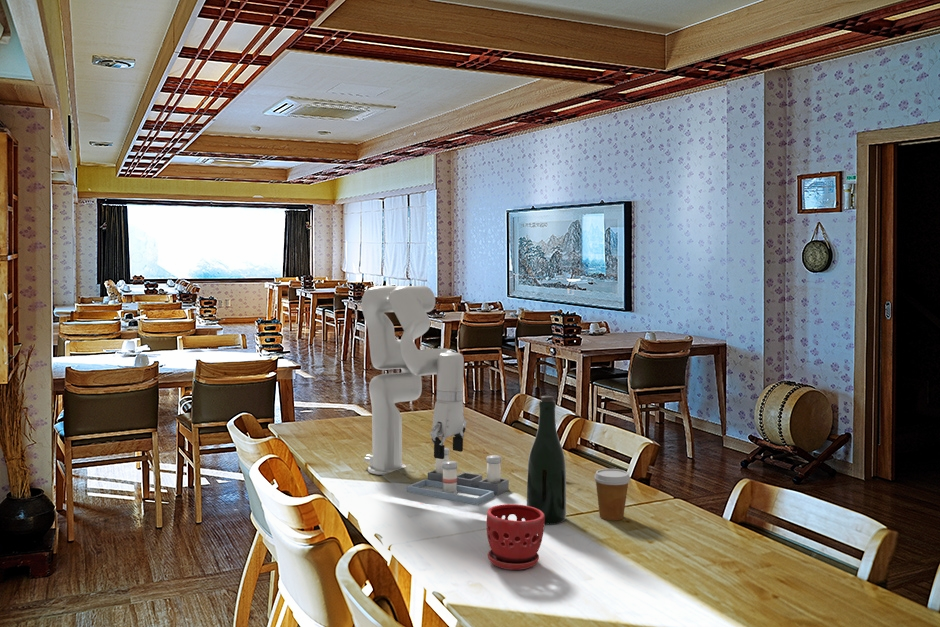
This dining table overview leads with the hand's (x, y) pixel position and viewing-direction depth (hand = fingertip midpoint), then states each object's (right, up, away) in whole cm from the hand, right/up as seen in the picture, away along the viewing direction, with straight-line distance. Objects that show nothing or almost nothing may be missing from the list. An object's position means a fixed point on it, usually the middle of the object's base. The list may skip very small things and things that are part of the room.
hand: (448, 454), depth 234 cm
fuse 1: (-2, -11, +13) cm, 17 cm away
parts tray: (0, -13, 0) cm, 13 cm away
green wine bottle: (+26, -14, -18) cm, 35 cm away
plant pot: (+16, -16, -49) cm, 54 cm away
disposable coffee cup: (+44, -14, -16) cm, 49 cm away
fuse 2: (+13, -11, +3) cm, 17 cm away
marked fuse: (0, -12, 0) cm, 12 cm away
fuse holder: (+5, -12, +8) cm, 16 cm away
